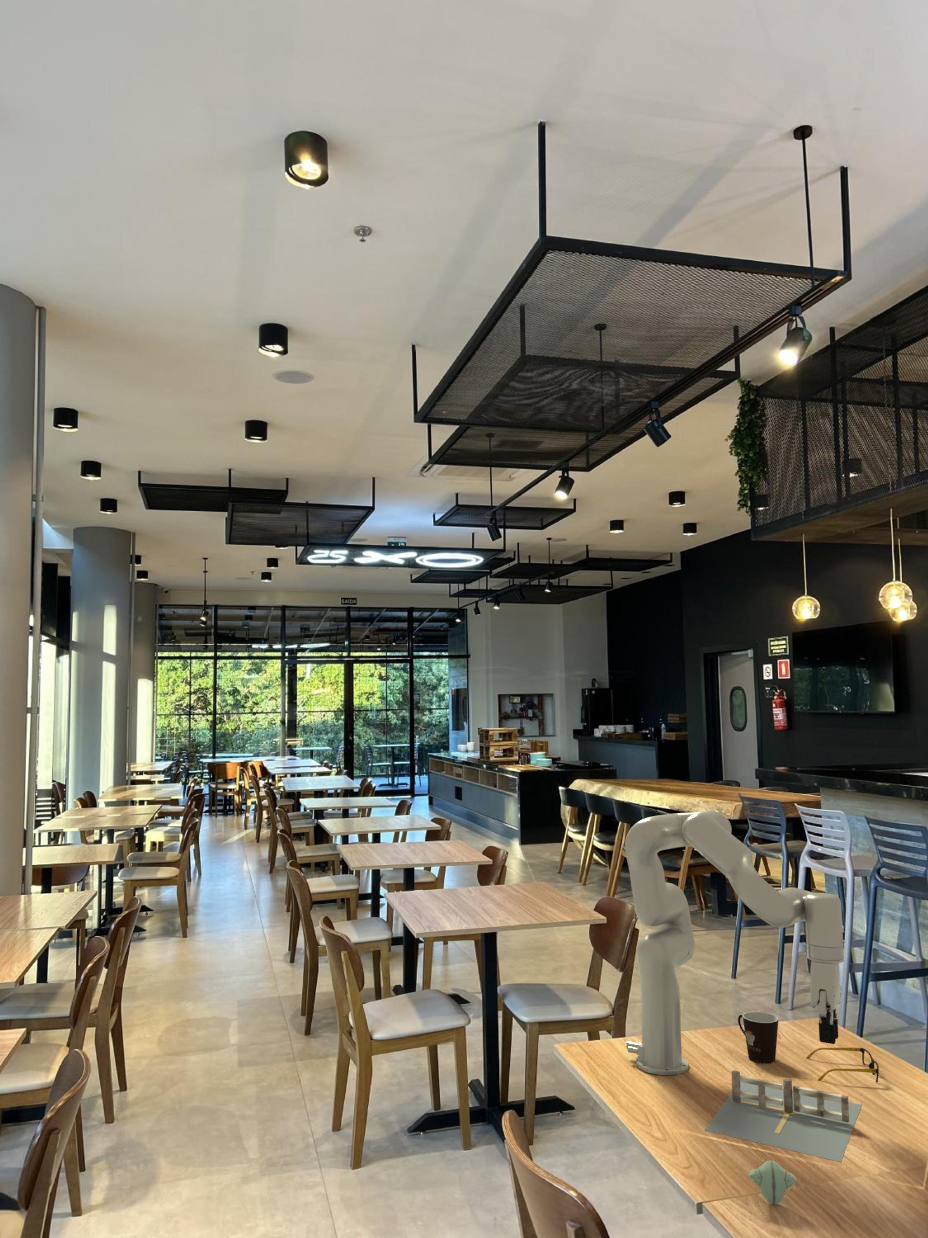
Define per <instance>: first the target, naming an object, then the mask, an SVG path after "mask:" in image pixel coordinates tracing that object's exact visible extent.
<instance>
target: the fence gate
mask: <svg viewBox="0 0 928 1238" xmlns="http://www.w3.org/2000/svg"><path fill="white" fill-rule="evenodd" d="M792 1091H793V1102H794V1111H796V1112H800V1113H805V1114H810V1115H815V1116H819V1117H824V1118H829V1119H833V1120H838V1121H843V1122H849V1105H848V1102H849V1095H845V1094H839V1093H833V1092H829V1091H823V1090H818V1089H814V1088H809V1087H804V1086H799V1085H792ZM800 1095H804V1096H809V1097H814V1098H817V1108H816V1107H811V1106H806V1105H801V1102H800ZM824 1100H829V1101H834V1102H839V1103H841V1107H842V1113H840V1112H835V1111H830V1110H825V1109H824Z"/></svg>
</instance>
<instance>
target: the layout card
mask: <svg viewBox="0 0 928 1238" xmlns="http://www.w3.org/2000/svg"><path fill="white" fill-rule="evenodd" d="M740 1086H741V1091H745V1092H750V1093H754V1094H758V1085H753V1084H748V1083H743V1082H740ZM765 1096H769V1097H774V1098H779V1099H783V1105H782V1106H780V1105H775V1104H770V1103H766V1106H765V1108H763V1107H759V1101H756V1100H751V1099H747V1098H742V1097H741V1101H740V1102H734V1101H733V1100H732V1092H731V1093H730V1094H729V1096H728V1098H726V1100H725V1102H724V1103H723V1105H721V1107H720V1108H719V1109H718V1111H717V1112H716V1114H715V1116H713V1118H712V1119H711V1121H710V1122H709V1123H708V1125H707V1126H706V1127H705V1129H704V1131H705V1132H710V1133H715V1134H719V1135H723V1136H727V1137H731V1138H736V1139H739V1140H740V1139H741V1140H744V1141H748V1142H754V1143H758V1144H761V1145H766V1146H770V1147H774V1148H778V1149H783V1150H787V1151H791V1152H796V1153H799V1154H805V1155H808V1156H812V1157H816V1158H821V1159H825V1160H829V1161H835V1162H837V1163H838V1162H839V1163H842V1159H843V1157H844V1155H845V1152H846V1149H847V1148H848V1144H849V1142H850V1138H851V1136H852V1133H853V1131H854V1128H855V1126H856V1122H857V1119H858V1117H859V1113H860V1111H861V1109H862V1106H863V1105H862V1104H859V1103H854V1102H849V1101H848V1105H849V1122H843V1121H838V1120H833V1119H829V1118H824V1117H819V1116H815V1115H810V1114H805V1113H800V1112H796V1111H794V1102H793V1113H787V1112H785V1111H784V1092H783V1089H782V1090H778V1089H773V1088H768V1087H765ZM792 1096H793V1090H792ZM800 1102H801V1105H806V1106H811V1107H816V1108H817V1098H814V1097H809V1096H804V1095H800ZM824 1109H825V1110H830V1111H835V1112H840V1113H842V1107H841V1103H839V1102H834V1101H829V1100H824Z"/></svg>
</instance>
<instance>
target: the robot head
mask: <svg viewBox="0 0 928 1238" xmlns="http://www.w3.org/2000/svg"><path fill="white" fill-rule="evenodd" d="M748 1176H749V1178H750V1179H751V1180H752V1182H753V1183H754V1184H755V1185H757V1187H758V1188H759V1189H760V1191H761V1194H762V1197H764V1199H765V1200H766V1201H767V1202H768V1203H769V1204H772V1205H777V1204H780V1203H781V1202H782V1200H783V1199H784V1197H785V1194H786V1192H787V1191H788V1190H789V1189H790V1188H791V1187H793V1186H794V1184H796V1183H797V1182H798V1179H797V1178H796V1176H795V1174H794V1173H791V1172H788V1171H787V1170H786V1169H784V1168H783V1167H781V1165H779V1163H777V1162H776V1161H774V1160H772V1159H771V1160H766V1161H765V1162H763V1164H761V1166H759V1167H757V1168H755V1169H754V1168H753V1169H750V1172H749V1174H748Z"/></svg>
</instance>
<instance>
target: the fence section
mask: <svg viewBox="0 0 928 1238" xmlns="http://www.w3.org/2000/svg"><path fill="white" fill-rule="evenodd" d="M740 1082H743V1083H748V1084H753V1085H758V1094H754V1093H750V1092H745V1091H741V1086H740ZM765 1087H768V1088H773V1089H778V1090H782V1089H783V1092H784V1111H785V1112H787V1113H793V1096H792V1091H793V1080H792V1079H790V1078H783V1079H782V1083H780V1082H776V1081H770V1080H766V1079H761V1078H755V1077H750V1076H746V1075H741V1072H740V1071H739V1070H731V1093H732V1100H733V1101H734V1102H740V1101H741V1097H742V1098H747V1099H751V1100H756V1101H759V1107H763V1108H765V1106H766V1103H770V1104H775V1105H780V1106H782V1105H783V1099H779V1098H774V1097H769V1096H765Z"/></svg>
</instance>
